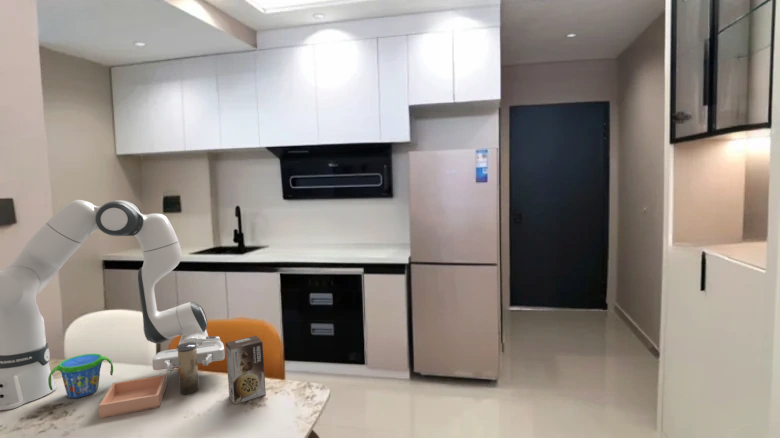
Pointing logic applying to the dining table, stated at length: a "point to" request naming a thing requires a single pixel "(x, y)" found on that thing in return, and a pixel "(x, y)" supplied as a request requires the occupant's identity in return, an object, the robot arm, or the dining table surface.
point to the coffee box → (245, 369)
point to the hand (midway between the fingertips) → (187, 365)
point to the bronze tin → (188, 368)
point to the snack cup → (81, 374)
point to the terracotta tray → (133, 396)
